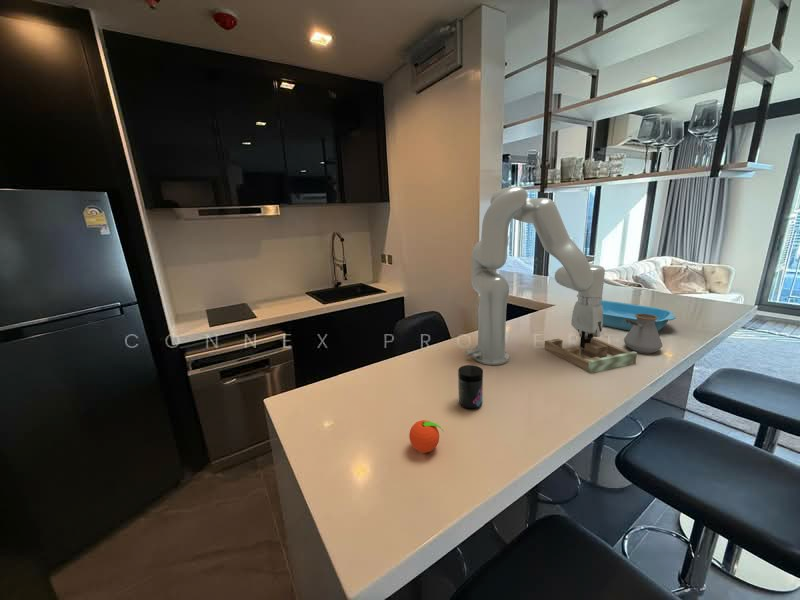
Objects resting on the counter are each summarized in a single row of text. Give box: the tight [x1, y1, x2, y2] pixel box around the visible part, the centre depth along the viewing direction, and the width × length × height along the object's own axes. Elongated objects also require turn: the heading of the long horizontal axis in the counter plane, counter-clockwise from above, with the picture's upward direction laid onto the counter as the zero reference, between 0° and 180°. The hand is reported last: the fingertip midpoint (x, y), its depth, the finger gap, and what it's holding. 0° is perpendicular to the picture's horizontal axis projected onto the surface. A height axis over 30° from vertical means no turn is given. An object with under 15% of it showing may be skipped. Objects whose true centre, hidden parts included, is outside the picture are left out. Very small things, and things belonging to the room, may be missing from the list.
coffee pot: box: [622, 314, 663, 354], centre depth 117 cm, size 21×12×15 cm, turn 122°
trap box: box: [544, 337, 638, 374], centre depth 119 cm, size 19×22×4 cm
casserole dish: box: [601, 299, 677, 332], centre depth 148 cm, size 37×22×7 cm, turn 40°
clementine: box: [408, 419, 444, 453], centre depth 76 cm, size 8×7×7 cm
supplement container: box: [457, 364, 484, 411], centre depth 92 cm, size 7×7×10 cm
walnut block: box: [583, 341, 608, 358], centre depth 119 cm, size 5×5×4 cm
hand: (584, 347), depth 123 cm, fingers closed
